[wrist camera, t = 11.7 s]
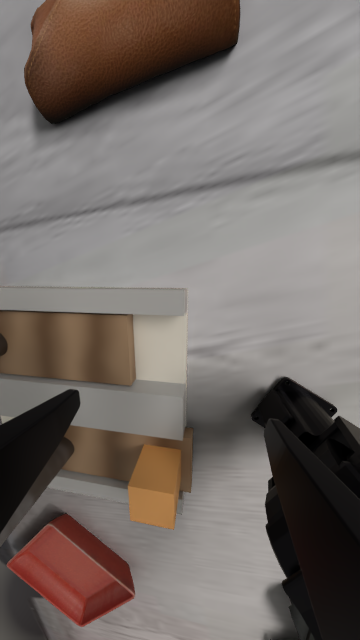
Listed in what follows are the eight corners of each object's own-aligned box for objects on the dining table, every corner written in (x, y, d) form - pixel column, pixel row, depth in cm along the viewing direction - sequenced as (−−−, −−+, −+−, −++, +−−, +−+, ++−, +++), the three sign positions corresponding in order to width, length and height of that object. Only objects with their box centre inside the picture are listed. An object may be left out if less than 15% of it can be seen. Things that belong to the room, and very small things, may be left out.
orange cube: (181, 449, 21) (173, 494, 16) (180, 479, 22) (174, 529, 17) (144, 444, 21) (127, 485, 17) (145, 473, 22) (130, 520, 18)
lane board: (188, 288, 19) (184, 289, 16) (185, 485, 25) (181, 514, 22) (-24, 286, 23) (-61, 286, 20) (16, 455, 29) (-7, 476, 26)
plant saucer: (21, 541, 35) (3, 567, 32) (64, 499, 30) (47, 524, 27) (92, 597, 36) (80, 629, 32) (144, 564, 31) (137, 597, 28)
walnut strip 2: (193, 428, 22) (172, 628, 9) (191, 479, 23) (173, 706, 11) (55, 410, 24) (-105, 545, 12) (63, 457, 26) (-69, 618, 14)
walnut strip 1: (132, 313, 20) (1, 368, 7) (136, 378, 21) (35, 515, 9) (-11, 308, 22) (-283, 342, 10) (3, 366, 24) (-215, 457, 12)
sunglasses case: (223, -94, 13) (244, -248, 8) (229, 66, 17) (245, 30, 13) (24, 24, 16) (-46, -33, 11) (73, 131, 21) (37, 123, 16)
